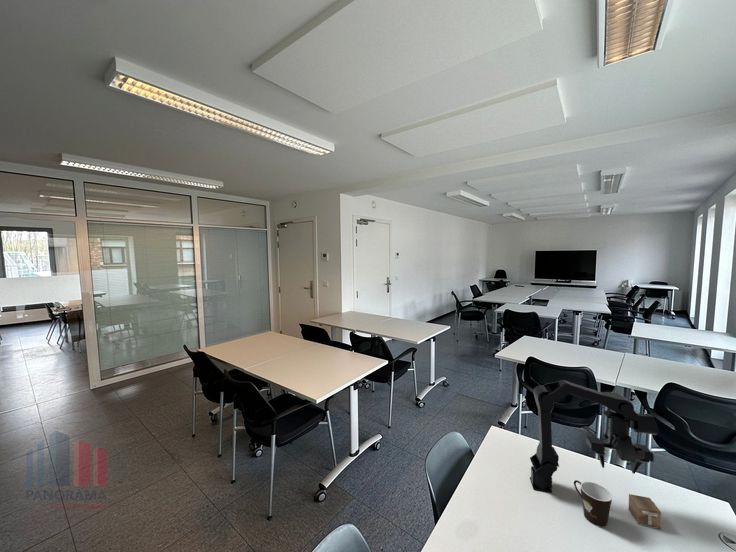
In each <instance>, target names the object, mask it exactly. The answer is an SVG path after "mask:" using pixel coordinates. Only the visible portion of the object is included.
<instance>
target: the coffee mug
mask: <svg viewBox="0 0 736 552" xmlns="http://www.w3.org/2000/svg"><path fill="white" fill-rule="evenodd" d="M577 483H578V484H579V485H580V491H579V489H578V487H577ZM573 486H574V488H575V491H576V492H577V494H578V495H579V497H580V498H581V501H582V509H583V517H584V518H585V520H586V521H587V522H589V523H590V524H592V525H594V526H596V527H599V528H606V527H607V526H608V522H609V516H610V511H611V505H612V501H613V496H612V493H611V492H610V491H609V490H608V489H607V488H605V487H604V486H602V485H600V484H598V483H595V482H592V481H583V482H581V481H580V480H579V479H578V480H576V479H575V480H574V481H573Z"/></svg>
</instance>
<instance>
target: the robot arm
mask: <svg viewBox="0 0 736 552" xmlns="http://www.w3.org/2000/svg"><path fill="white" fill-rule="evenodd" d="M532 392H533V396H534V401H535V403H536V407H537V414H538V415H537V417H538V437H539V442H538V445H537V446H536V451H535V453H534V454H533V455H532V456H530V457H529V460H530V462H531V465H532V466H530V476H529V480H530V483H531V487H532V490H534V491H539V492H545V493H551V494H552V493H553V490H552V488H553V475H554V473H555V472H557V471H558V468H560V463H559V454H558V452H557V451H556V449H555V447H554V446H553V439H552V438H553V435H552V411H553V410H554V406H555V403H557V402H559V401H561V400H562V399H563V398H565V397H566V396H569V395H571V396H573V397H574V396H575V397H577V398H581V399H584V400H587V401H590V402H593V403H595V404H599V405H602V406H603V407H606V408H607V410H604V411H603V412H602V414H603V415H604V417H606V418H607V419H609V426H608V427H607V430H608V431H609V432H608V437H607V438H606V439H607V441H608V442H606V441H605V442H604V441H602V440H601V439H600V438H599V437H597V436H591V435H590V436H589V435H588V436H587V437H586V439H585V443H586V444H587V446H588V447H589V449H590V450H591V451H592V452H594V453H595V454H596V455H597V458H598V460H599V462H600V465H601V468H602V469H605V456H606V453H605V450H614V451H616V454H617V455H618V457H619V459H620V460H621V461H622V462H629V463H630V468H631V473H632V474H633V475H635V473H636V472H637V471H638V469H639V468H640V466H641V465H642V464H644V463H647V464H648V463H650V462H655V454H654V453H653V452H652V450H650V449H649V448H648V446H646V444H639V443H633V442H632V441H633V440H632V437H631V436H630V430H633V432H635V433H639V434H646V435H652V436H653V435H654V436H657V435H658V434H659V433H660V432H659V430H660V429H659V427H658V423H657V422H656V420H655V419H656V418H655V416H654V415H652V414H651V413H639V412H636V411H635V407H634V404H633V403H632V402H631V401H630V400H628V399H627V398H626V397H624V396H623V395H622V394H620V393H617V392H611V391H600V390H596V389H592V388H589V387H586V386H583V385H579V384H577V383H574V382H572V381H571V382H570V381H567V380H565V379H559V380H557V381H553V382H547V383H545V384H543V385H540V384H539V385H537V386H535V387H534V388H533V389H532Z"/></svg>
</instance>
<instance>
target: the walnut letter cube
mask: <svg viewBox="0 0 736 552" xmlns="http://www.w3.org/2000/svg"><path fill="white" fill-rule="evenodd" d="M628 512H629V513H630V515H631V516H632V518H633V519H634V520H635V522H636V523H637V525H640V526H645V527H650V528H655V529H660V530H661V528H662V527H661V524H662V523H661V522H662V521H661V520H662V512H661V510H660V509H659V507H658V506H657V505H656V504H655V503H654V501H653V500H652V498H650V497H647V496H642V495H636V494H630V493H629V494H628Z"/></svg>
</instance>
